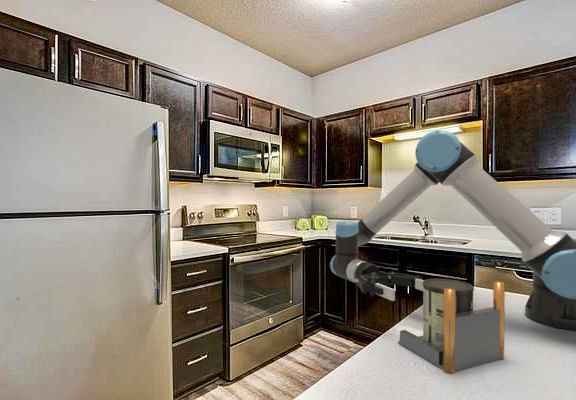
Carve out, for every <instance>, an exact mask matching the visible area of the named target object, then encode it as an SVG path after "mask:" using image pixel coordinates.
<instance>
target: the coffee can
mask: <svg viewBox="0 0 576 400" xmlns="http://www.w3.org/2000/svg"><path fill="white" fill-rule="evenodd" d="M444 288H451V289H455V314H458V313H464V312H469V311H474V291H475V287H474V285H472V284H471V283H468V282H465V281H461V280H456V279H447V278H427V279H424V281H423V291H422V292H423V293H422V295H423V296H422V297H423V298H422V299H423V300H422V301H423V302H422V303H423V305H422V306H423V307H422V311H423V314H422V316H423V317H422V319H423V321H422V325H423V327H422V332H423V333H422V336H423V340H425V341H427V342H429V343H431V344H433V345H435V346H437V347H439V348H440V349H442V350H443V316H444Z"/></svg>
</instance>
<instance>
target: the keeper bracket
mask: <svg viewBox="0 0 576 400" xmlns="http://www.w3.org/2000/svg"><path fill="white" fill-rule="evenodd" d="M492 284H493V285H492V286H493V289H492V290H493V291H492V292H493V295H492V297H493V300H492V304H493V305H492V307H491V306H490V307H486V308H480V309H476V310H474V309H473V311H469V312H464V313H458V314H455V289H451V288H444V316H443V350H442V349H440V348H439V347H437V346H435V345H433V344H431V343H429V342H427V341H425V340H423V335H419V336H417V335H415V334H414V333H412V332H410V331H408V330H406V329H403V330H402V329H401V330H399V340H398V344H399V345H401V346H402V347H404V348H406V349H407V350H408V351H411V352H412V353H414V354H416V355H417V356H419V357H421V358H422V359H424V360H426V361H427V362H429V363H431V364H432V365H434V366H436V367H438V368H439V369H441V370H443V372H444V373H446V374H452V375H453V374H455V373H457V372H460V371H464V370H467V369H471V368H474V367H477V366H481V365H485V364H489V363H491V362H495V361H499V360H501V361H502V360H504V359H505V324H506V323H505V314H506V311H505V310H506V309H505V308H506V307H505V301H506V299H505V298H506V296H505V293H506V292H505V290H506V289H505V285H506V284H505V282H504V281H498V280H496V281H495V280H493V283H492Z"/></svg>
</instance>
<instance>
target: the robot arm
mask: <svg viewBox="0 0 576 400" xmlns="http://www.w3.org/2000/svg"><path fill="white" fill-rule="evenodd" d="M415 147H416V148H415V150H414V151H415V155H414V156H415V159H416V163H415V164H414V168H413V170H412V171H411V172H410V173H409V174H408V175H407V176H406V177H404V179H402V180H401V182H400V183H398V184H397V185H396V186H395V187H394V188H393V189H391V191H390V192H389V193H387V195H385V196H384V198H382V199H381V200H380V201H379V202H378V203H377V204H375V206H374V207H372V209H370V211H369V212H367V213H366V214H365V215H364V216H363V217H362V218H361V219H360V220H359V221H358V222H356V221H349V220H342V221H341V220H340V221H338V222H336V225H335V226H336V227H335V232H334V233H335V255H333V256H332V258H331V260H330V262H329V267H330V270H331V272H332V273H333V274H334V275H335V276H337V277H339V278H341V279H343V280H346V281H349V282H350V283H354V284H355V285H357V286H358V288H359V289H360V291H361V292H362V294H367V293H368V292H369V296H370V297H374V296H375V295H378V296H379V297H382V298H384V299H387V300H389V301H390V302H391V301H392V302H394V301H396V290H395V288H391V287H393V286H394V285H396V286H404V287H405V286H406V287H410V288H411V287H413V288H414V289H416V290H419V291H421V292H423V281H424V280H425V279H424V280H423V277H422V276H420V275H418V274H416V275H412V274H406V273H400V272H396V271H395V272H394V271H389V272H385V271H381V269H380V267H378V265H376V264H374V263H371V262H368V261H366V260H362V259H359V246H363V245H367V244H368V243H369V242H371V241H372V240H373V238H374V237H375V236H376V235H377V234H379V232H380V231H381V230H382V229H384V228H385V227H386V226H387V225H389V223H390V222H391V221H392V220H394V219H395V218H396V217H397V216H398V215H399V214H401V213H402V212H403V211H404V210H405V209H406V208H407V207H408V206H409V205H410V204H412V203H413V202H414V201H415V200H416V199H418V198H419V197H420V196H421V195H422V194H423V193H425V191H426V190H428V189H429V188H430V187H431V186H437V185H438V184H439V183H440V184H441V186H450V187H452V188H453V189H454V190H455V191H456V192H457V193H458V194H460V196H462V197H463V199H465V200H466V201H467V202H468V203H469V204H470V205H471V206H472V207H473V208H475V210H476V211H477V212H479V213H480V214H481V215H482V216H483V217H484V218H485V219H486V220H487V221H489V222H490V223H491V224H492V226H494V228H496V229H497V231H499V232H500V233H501V235H503V236H504V237H505V238H507V240H508V241H510V242H511V243H512V244H513V245H514V246H515V247H516V249H518V250H519V251H520V252H521V261H522V262H523V263H524V264H525V265H526V266H527V268H529V269H530V270H531V271H532V290H531V292H530V294H529V297H528V298H527V301H526V303H525V307H524V315H525V316H526V317H527V318H528V319H531V320H532V321H535V322H537V323H540V324H542V325H546V326H549V327H553V328H558V329H564V330H570V331H576V238H572V237H571V236H570V235H569V234H568V233H566V231H563V230H560V231H559V230H554V229H552V228H551V227H550V226H549V225H548V224H546V223H545V222H544V221H543V220H542V219H540V218H539V217H538V216H537V215H536V214H534V212H532V211H531V210H530V209H529V208H528V207H526V205H524V204H523V203H522V202H521V201H520V200H518V199H517V198H516V197H515V196H514V195H513V194H511V193H510V191H508V190H507V189H506V188H505V187H504V186H503V185H501V184H500V183H499V182H498V181H497V180H496V179H494V177H492V176H491V174H489V173H487V171H485V170H484V168H482V167H480V166H479V165H478V163H477V161H478V160H477V155H476V154H475V153H474V152H473V151H471V150H470V149H469V148H468V147H467V146H466V145H465V144H464V143H463V142H462V141H460V139H459V138H458V137H457V135H455V134H454V133H453V132H451V131H448V130H444V129H443V130H442V129H441V130H440V129H439V130H438V129H437V130H433V131H429V132H428V133H426V134H424V136H422V137H421V138H420V139H419V141H418V143H417V144H416V146H415Z"/></svg>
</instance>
